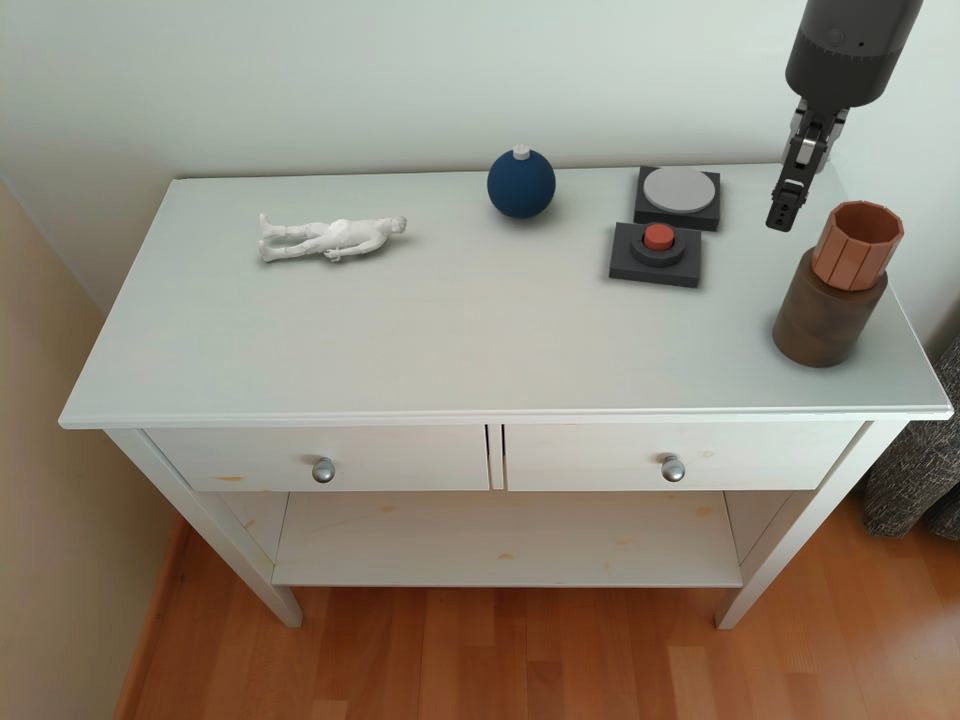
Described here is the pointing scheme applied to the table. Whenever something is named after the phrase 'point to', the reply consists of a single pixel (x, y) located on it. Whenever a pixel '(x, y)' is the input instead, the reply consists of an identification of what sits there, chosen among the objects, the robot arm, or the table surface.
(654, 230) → the button
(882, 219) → the orange wooden cup
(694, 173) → the scale
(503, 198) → the christmas ornament
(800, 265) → the stand
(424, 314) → the table surface
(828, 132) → the robot arm
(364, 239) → the figurine
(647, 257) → the red push button box
